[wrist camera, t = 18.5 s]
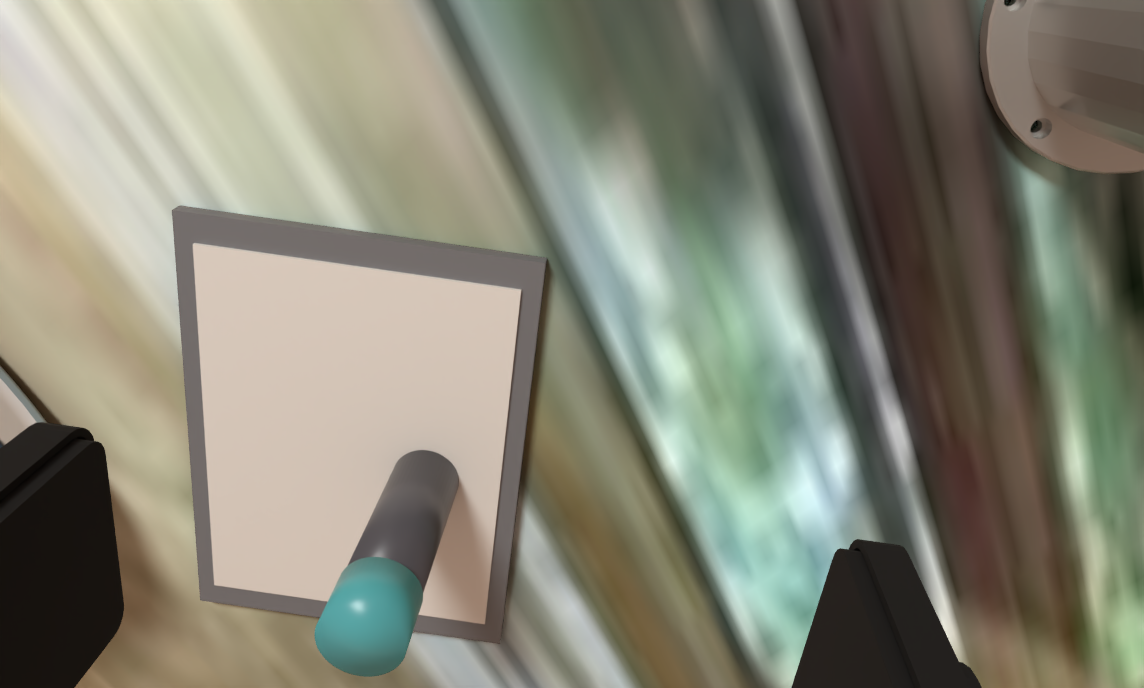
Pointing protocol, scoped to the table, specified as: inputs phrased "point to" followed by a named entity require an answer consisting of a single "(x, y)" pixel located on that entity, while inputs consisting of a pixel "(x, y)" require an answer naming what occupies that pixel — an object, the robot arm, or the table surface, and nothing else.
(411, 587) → the marker
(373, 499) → the notepad
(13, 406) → the grey rounded block
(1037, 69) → the robot arm
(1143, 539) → the table surface
